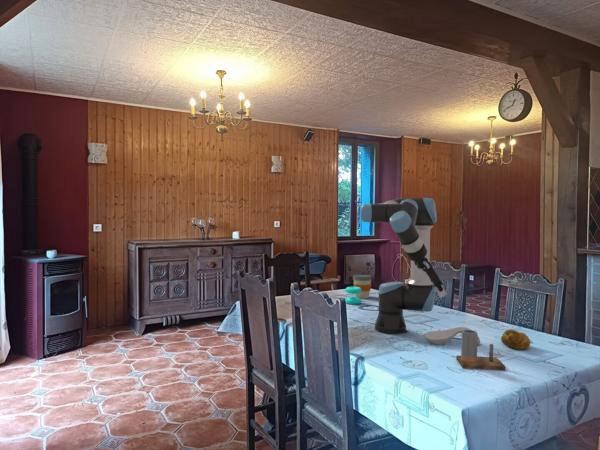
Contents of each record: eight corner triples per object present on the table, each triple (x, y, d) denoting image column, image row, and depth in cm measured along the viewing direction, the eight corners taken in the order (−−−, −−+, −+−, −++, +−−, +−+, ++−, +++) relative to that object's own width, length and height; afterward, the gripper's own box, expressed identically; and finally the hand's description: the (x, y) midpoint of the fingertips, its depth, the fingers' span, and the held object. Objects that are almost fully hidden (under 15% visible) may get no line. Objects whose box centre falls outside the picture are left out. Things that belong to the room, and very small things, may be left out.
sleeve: (463, 362, 160) (463, 333, 160) (459, 357, 166) (460, 329, 165) (478, 363, 160) (478, 333, 159) (474, 358, 165) (474, 329, 165)
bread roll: (495, 342, 191) (496, 324, 190) (516, 341, 192) (516, 324, 191) (513, 351, 178) (513, 332, 178) (534, 351, 179) (535, 332, 179)
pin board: (462, 368, 158) (463, 346, 158) (456, 359, 168) (456, 338, 168) (505, 370, 156) (505, 348, 156) (496, 361, 166) (496, 340, 166)
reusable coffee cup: (352, 298, 286) (352, 276, 286) (353, 295, 298) (353, 273, 298) (371, 299, 284) (371, 277, 284) (371, 295, 296) (371, 274, 296)
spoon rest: (427, 347, 184) (427, 330, 184) (421, 339, 196) (421, 323, 195) (483, 348, 182) (483, 331, 182) (474, 340, 194) (474, 324, 194)
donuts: (363, 288, 267) (347, 289, 266) (363, 304, 268) (347, 304, 267) (359, 286, 277) (344, 286, 276) (359, 301, 278) (344, 301, 276)
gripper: (394, 240, 176) (414, 277, 184) (419, 266, 153) (441, 308, 161) (409, 230, 175) (429, 268, 183) (437, 255, 152) (459, 298, 160)
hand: (435, 287), depth 172 cm, fingers open, 13 cm apart
